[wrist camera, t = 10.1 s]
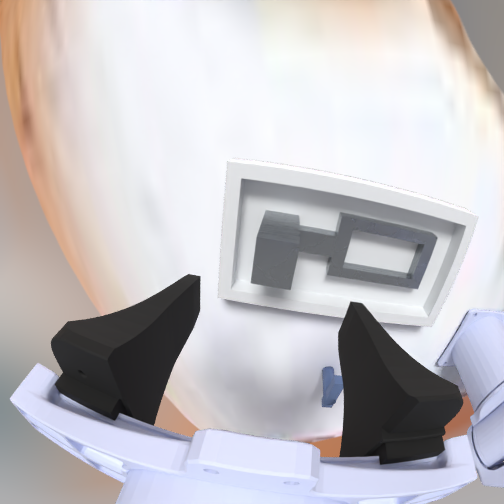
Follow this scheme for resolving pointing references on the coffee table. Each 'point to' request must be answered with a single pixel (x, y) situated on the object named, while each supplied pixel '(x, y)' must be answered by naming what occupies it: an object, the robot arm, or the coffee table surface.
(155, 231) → the coffee table surface
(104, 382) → the robot arm
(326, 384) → the t-stake
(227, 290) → the tray
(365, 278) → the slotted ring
